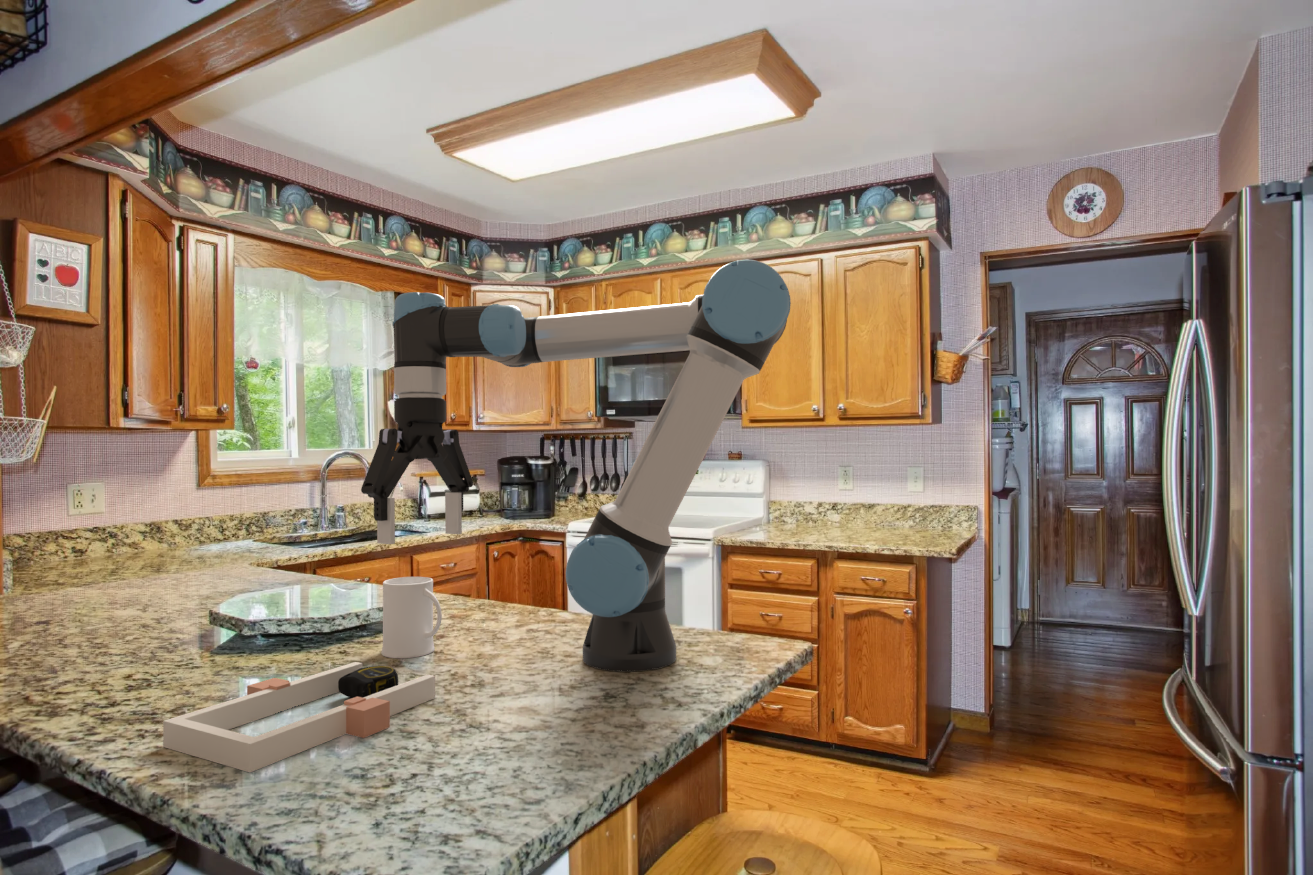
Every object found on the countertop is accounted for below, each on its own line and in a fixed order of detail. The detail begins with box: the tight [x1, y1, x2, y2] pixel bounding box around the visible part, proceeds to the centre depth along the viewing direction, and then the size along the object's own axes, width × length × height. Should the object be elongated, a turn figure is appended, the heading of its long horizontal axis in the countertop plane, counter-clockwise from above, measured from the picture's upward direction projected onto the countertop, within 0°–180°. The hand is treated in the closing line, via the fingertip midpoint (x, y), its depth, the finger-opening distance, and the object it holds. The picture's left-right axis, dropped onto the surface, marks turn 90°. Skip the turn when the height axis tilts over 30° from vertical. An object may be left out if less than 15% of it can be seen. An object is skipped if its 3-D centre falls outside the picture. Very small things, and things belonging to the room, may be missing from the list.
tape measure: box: [338, 665, 399, 699], centre depth 107 cm, size 7×7×4 cm
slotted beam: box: [162, 661, 436, 773], centre depth 99 cm, size 22×28×3 cm
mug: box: [380, 576, 443, 659], centre depth 131 cm, size 12×8×12 cm
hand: (421, 538), depth 117 cm, fingers open, 13 cm apart
